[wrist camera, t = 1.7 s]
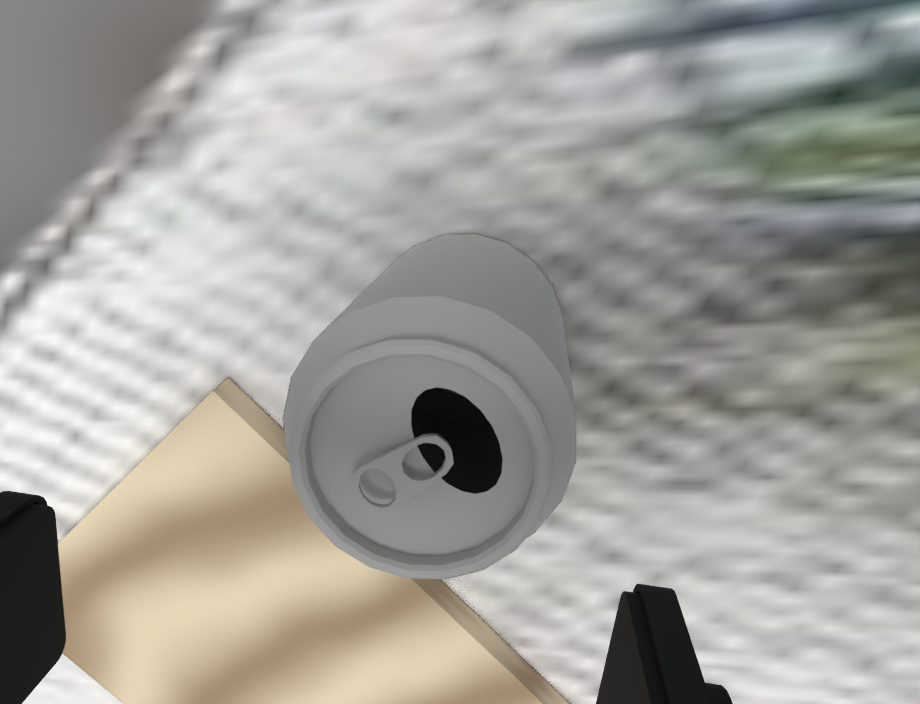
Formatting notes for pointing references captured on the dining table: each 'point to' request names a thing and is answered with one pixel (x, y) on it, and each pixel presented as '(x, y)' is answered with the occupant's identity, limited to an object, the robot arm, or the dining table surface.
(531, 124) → the dining table surface
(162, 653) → the oak board
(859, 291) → the dining table surface
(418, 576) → the can
